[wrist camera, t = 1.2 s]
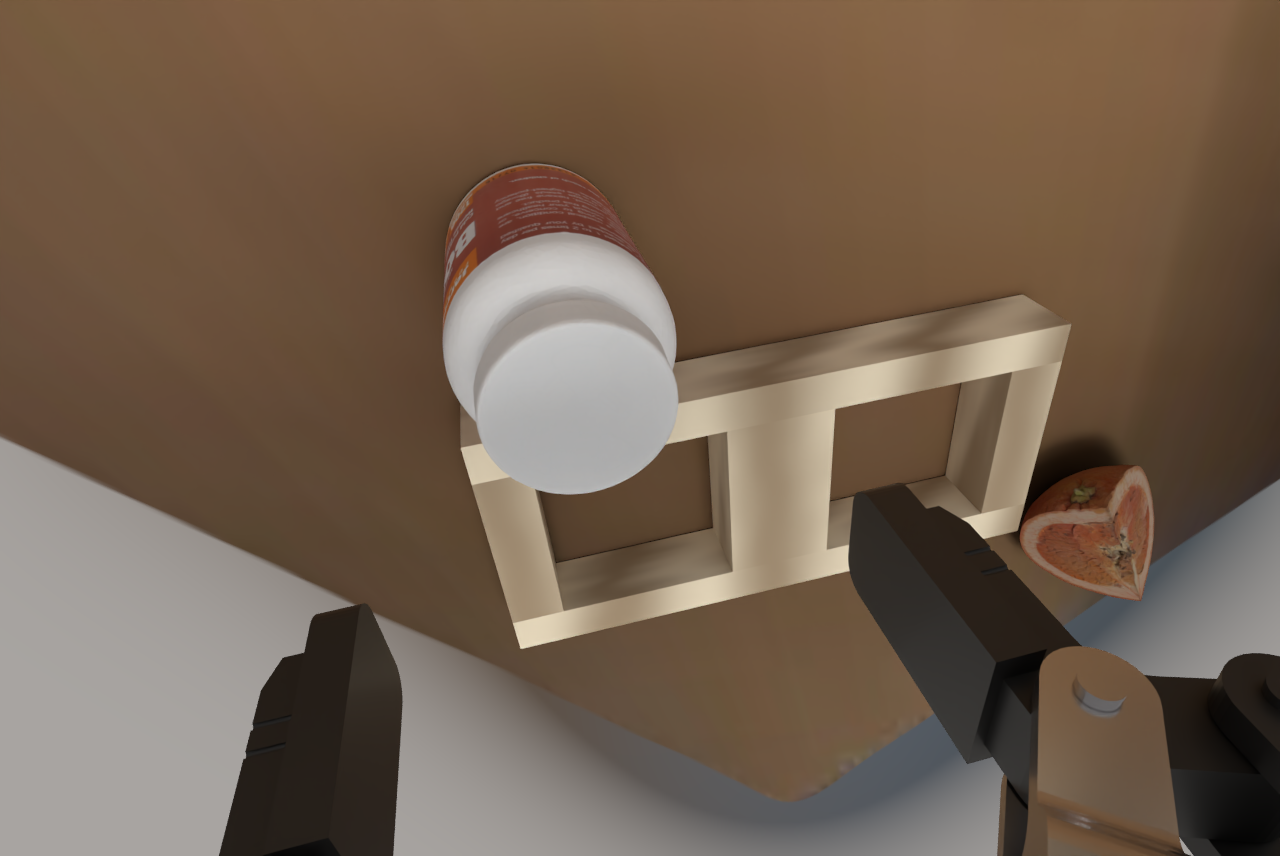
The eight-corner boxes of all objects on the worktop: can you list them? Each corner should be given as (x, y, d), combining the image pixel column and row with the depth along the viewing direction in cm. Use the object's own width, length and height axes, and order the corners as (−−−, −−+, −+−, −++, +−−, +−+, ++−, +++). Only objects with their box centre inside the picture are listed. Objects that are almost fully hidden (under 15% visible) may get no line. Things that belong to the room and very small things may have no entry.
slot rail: (1022, 294, 31) (1071, 323, 28) (980, 492, 37) (1017, 530, 35) (460, 404, 28) (460, 448, 26) (516, 599, 34) (520, 649, 32)
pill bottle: (431, 163, 23) (416, 297, 14) (620, 154, 24) (718, 273, 15) (458, 338, 27) (459, 537, 18) (622, 323, 28) (704, 503, 19)
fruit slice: (983, 481, 37) (1048, 547, 33) (1103, 407, 36) (1187, 465, 32) (1023, 567, 41) (1085, 634, 37) (1131, 504, 40) (1207, 566, 36)
